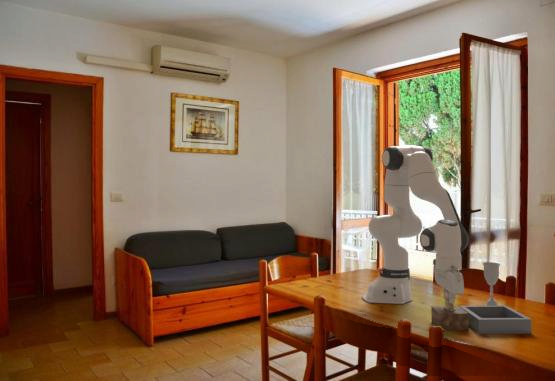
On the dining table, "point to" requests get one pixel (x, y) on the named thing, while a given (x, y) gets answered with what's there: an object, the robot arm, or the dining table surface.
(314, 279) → the dining table surface
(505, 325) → the tray
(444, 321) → the dowel block
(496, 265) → the chalice
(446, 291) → the dowel
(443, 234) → the robot arm
